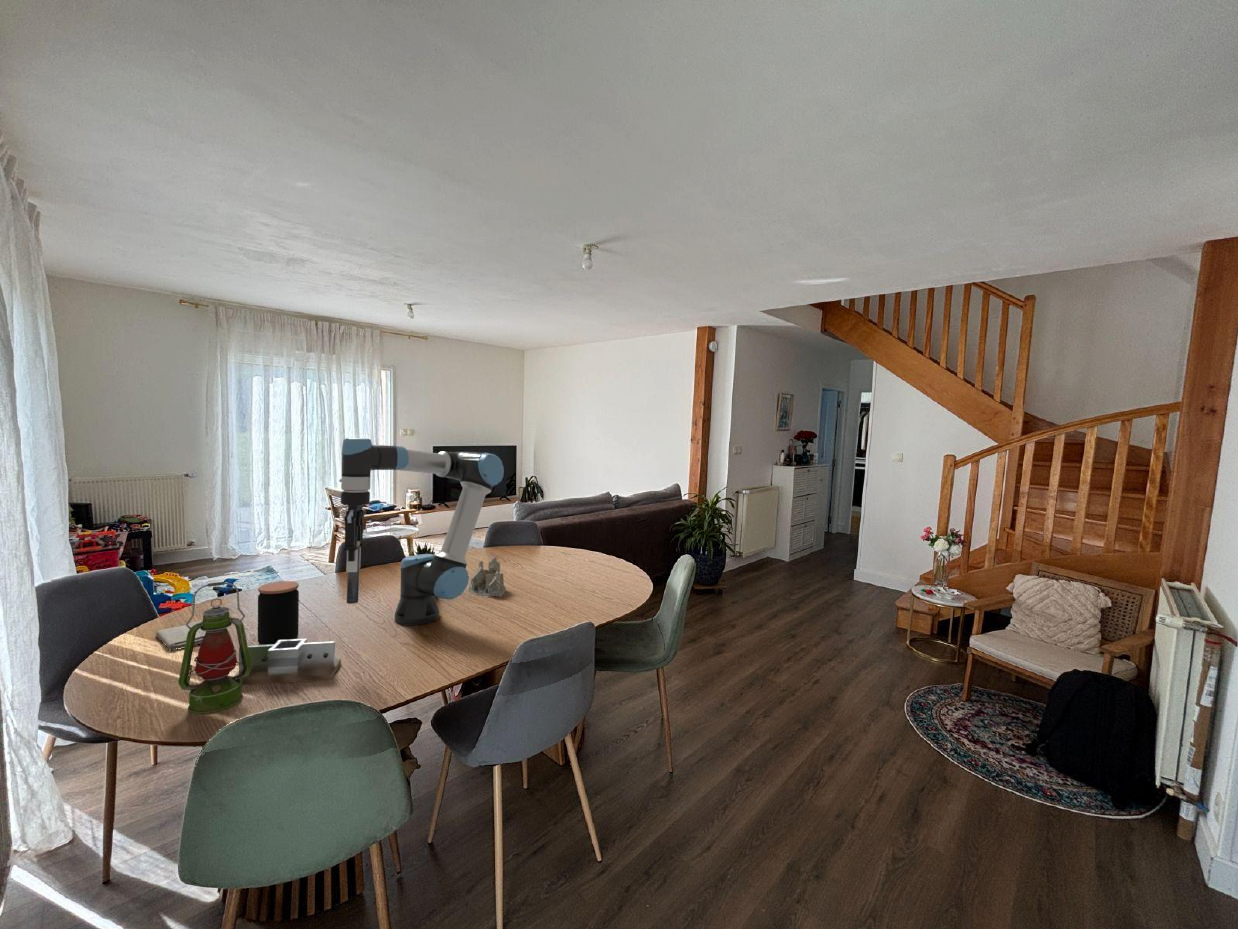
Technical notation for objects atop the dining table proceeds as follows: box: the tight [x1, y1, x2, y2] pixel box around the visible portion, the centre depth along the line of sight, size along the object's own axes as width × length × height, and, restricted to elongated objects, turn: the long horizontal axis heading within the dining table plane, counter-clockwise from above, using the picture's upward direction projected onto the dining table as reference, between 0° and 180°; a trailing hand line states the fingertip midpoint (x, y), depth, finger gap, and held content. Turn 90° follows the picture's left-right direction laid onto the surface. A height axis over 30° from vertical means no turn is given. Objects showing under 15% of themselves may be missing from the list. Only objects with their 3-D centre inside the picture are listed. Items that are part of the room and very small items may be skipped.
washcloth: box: [155, 620, 206, 651], centre depth 158 cm, size 12×18×3 cm, turn 54°
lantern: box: [178, 581, 251, 716], centre depth 122 cm, size 14×11×30 cm
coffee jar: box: [257, 580, 300, 645], centre depth 158 cm, size 11×11×18 cm
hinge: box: [238, 638, 336, 676], centre depth 138 cm, size 23×7×7 cm, turn 104°
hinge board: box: [232, 658, 342, 686], centre depth 138 cm, size 24×9×2 cm, turn 104°
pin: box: [346, 541, 361, 605], centre depth 147 cm, size 3×3×18 cm
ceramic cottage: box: [467, 555, 507, 598], centre depth 217 cm, size 16×16×15 cm
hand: (353, 570), depth 147 cm, fingers closed on pin, 3 cm apart
